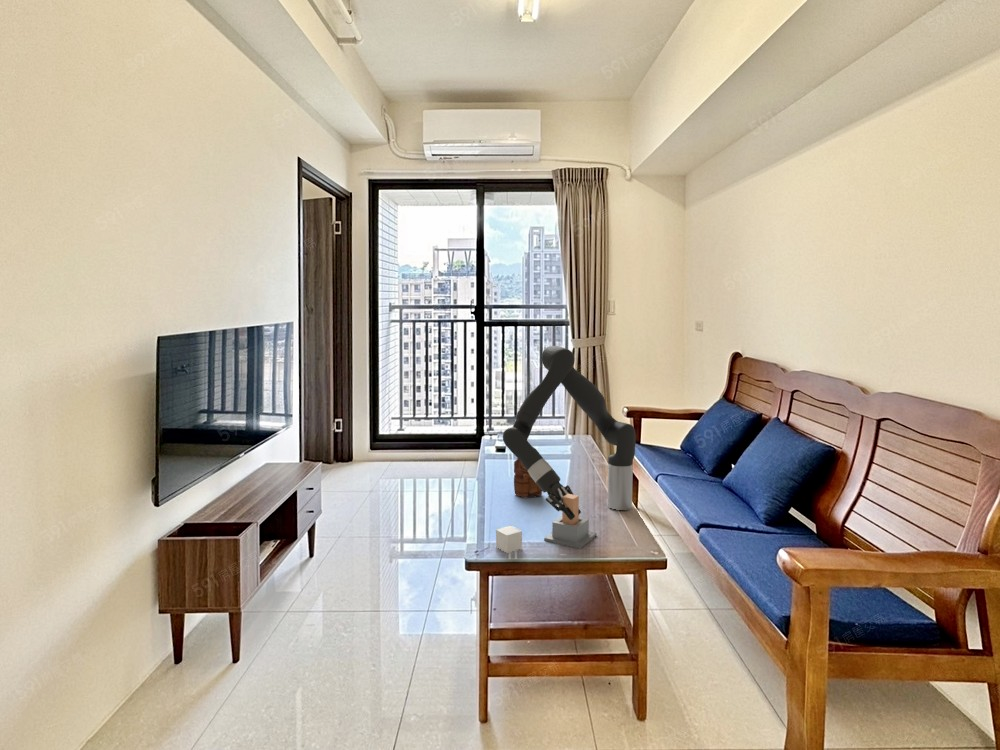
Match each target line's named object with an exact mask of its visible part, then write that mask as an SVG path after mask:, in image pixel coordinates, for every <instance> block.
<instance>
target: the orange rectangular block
mask: <svg viewBox="0 0 1000 750" xmlns="http://www.w3.org/2000/svg"><path fill="white" fill-rule="evenodd" d="M579 497H580V495H577V494H574V495H572V494H567V495H565V496H563V498H564V500H565V501H564V502H565V503H566V504H567V506H568V507H569V509H570V510H571V511H572V512H573V513H574V515H575V517H574V518H573V519H572V520H570V519H569V518H568V517H567V516H566V514H565V513H564V512H563V511H561V512H562V523H567V524H571V525H576V524H577V523H579V517H580V516H579V515H580V514H579V515H578V510H580V508H579V507H580V506H579V501H580V498H579ZM568 507H567V508H568Z"/></svg>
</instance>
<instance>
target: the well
mask: <svg viewBox="0 0 1000 750" xmlns="http://www.w3.org/2000/svg"><path fill="white" fill-rule="evenodd" d="M589 523H590V519H589V518H585V517H580V516H579V523H577V524H576V525H571V524H567V523H562V516H560V517H559V518H556V520H554V521H552V524H551V525H552V528H551V529H552V532H551V533H549V534H547V535H546V536H544V538H543V539H544V542H548V543H552V542H553V544H556V545H557V544H558V545H561V546H566V547H571V548H575V549H579V550H581V549H582V548H583V547H584V546H586V545H588V543H589V542H591V541H592V540H594V538H596V537H597V536H598V535H597V532H596V531H595V532H594V531H590V529H589V528H590V525H589ZM596 535H597V536H596ZM595 536H596V537H595ZM590 540H591V541H590ZM585 544H586V545H585Z"/></svg>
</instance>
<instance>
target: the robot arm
mask: <svg viewBox="0 0 1000 750" xmlns="http://www.w3.org/2000/svg"><path fill="white" fill-rule="evenodd" d="M575 359H576V358H575V355H574V353H573V352H572V351H571V350H570V349H567V348H565V347H562V346H559V345H549V346H547V347H545V348H544V349H543V350H542V353H541V362H542V365H543V366H544V368H545V369H546V370H547V372H546V375H545V377H544V378H543V379H542V381H541V382H540V383H539V384H538V385H537V386H536V387H535V388H534V389H532V391H530V392H529V393H528V395H527V396H526V398H525V399H524V400H523V402H522V404H521V406H520V407H519V408H518V411H517V413H516V416H515V417H516V420H515V421H514V423H513V426H511V427H508V428H506V429H505V430H504V431H503V434H502V441H503V443H504V445H505V446H506V448H507V449H508V450H509V451H510V452H511V453H512V454H513V455H514V456H515V457H516V459H517V458H518V459H519V460H520V462H521V463H522V465H523V466H524V467H525V468H526V470H527V471H528V472H529V474H530V476H531V477H532V479H533V480H534V481H535V483H536V484H537V485H538V486H539V488H540V489H541V490H542V493H543V494H544V493H547V497H546V498H545V501H546V502H547V503H548V504H549V505H550V506H552V508H554V509H555V510H556V511H557V512H562V511H563V512H564V513H565V514H566V516H567V517H568V518H569V519H570V520H572V519H573V518H574V517H575V515H574V513H573V512H572V511H571V510H570V509H569V507H568V506H567V504H566V503H565V502H564V501H565V500H564V498H563V496H565V495H567V494H572V495H575V494H574V492H573V491H572V489H571V487H570V486H569V485H568V484H567V485H566V486H564V485H563V484H561V482H560V481H561V478H560V476H559V475H558V473H557V472H556V471H555V470H554V468H553V467H552V466H551V465H550V463H549V462H547V460H546V459H545V458H544V457H543V455H541V453H540V452H539V451H538V450H537V449H536V448H535V447H534V446H532V445H531V443H530V442H529V441H528V439H529V436H530V434H531V432H532V429H533V426H534V424H535V423H536V421H537V419H538V418H539V416H540V414H541V412H542V411H543V409H544V407H545V405H546V404H547V402H548V401H549V400H550V398H551V396H552V395H553V394H554V392H555V391H556V390H557V389H558V387H559V386H560V384H561V385H562V386H563V388H564V389H565V390H566V391H567V393H568V394H569V395H570V396H571V398H572V399H573V400H574V402H576V404H577V405H578V406H579V408H580V409H581V410H582V411H583V412H584V413H585V414H586V415H587V416H588V418H589V419H590V420H591V421H592V422H593V423H594V424H595V426H596V427H597V429H598V431H599V432H600V434H601V435H602V437H603V438H604V440H605V441H606V442H607V443H608V444H610V445H613V446H616V449H615V453H613V454H610V455H609V456H608V459H607V462H608V463H607V507H608V509H610V508H612V509H611V510H613V509H616V510H615V511H619V510H625V511H630V510H631V509H632V507H633V467H634V466H633V465H634V464H633V463H634V458H635V455H636V444H637V443H636V441H637V439H636V438H637V436H636V435H637V434H636V429H635V428H634V426H633V425H632V424H630V423H625V422H621V421H618V420H616V419H615V418H614V417H613V415H611V414H610V412H609V411H608V410H607V405H606V400H605V397H604V395H603V394H602V392H601V391H600V390H599V388H597V386H596V385H595V384H594V383H593V382H591V381H590V380H589V379H588V378H587V377H586V376H584V375H583V374H581V373H580V372H579V371H578V370H577V369H575V367H574V365H575ZM567 507H568V508H567ZM629 509H630V510H629ZM581 513H582V511H581V509H579V510H578V515H580V514H581Z"/></svg>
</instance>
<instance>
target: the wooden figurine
mask: <svg viewBox="0 0 1000 750" xmlns="http://www.w3.org/2000/svg"><path fill="white" fill-rule="evenodd" d="M513 472H514V476H513V487H514V489H513V490H514V495H515V494H516V495H517V497H518V496H521V497H520V498H522V497H527V498H536V497H542V496H543V492H542V490H541V489H540V488H539V486H538V485H537V484H536V483H535V481H534V480H533V479H532V477H531V476H530V474H529V472H528V471H527V470H526V468H525V467H524V466H523V465H522V463H521V462H520V460H519V459H518V458H517V457H516V459H515V461H514V462H513ZM516 495H515V496H516ZM535 496H536V497H535Z"/></svg>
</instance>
